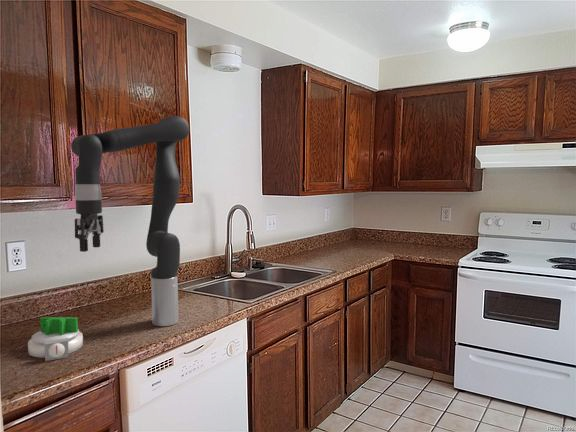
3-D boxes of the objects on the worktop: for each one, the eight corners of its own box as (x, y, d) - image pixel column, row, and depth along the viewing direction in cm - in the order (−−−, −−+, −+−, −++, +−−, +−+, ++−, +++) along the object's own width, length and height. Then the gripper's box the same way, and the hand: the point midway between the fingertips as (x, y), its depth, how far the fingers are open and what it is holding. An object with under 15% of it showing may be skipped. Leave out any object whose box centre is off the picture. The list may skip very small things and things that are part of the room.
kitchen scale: (29, 344, 137) (28, 328, 136) (81, 335, 144) (80, 321, 143) (27, 365, 121) (26, 348, 121) (85, 354, 128) (84, 338, 128)
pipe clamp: (35, 335, 132) (35, 321, 132) (43, 331, 136) (42, 317, 135) (72, 335, 132) (71, 320, 131) (78, 331, 136) (77, 316, 135)
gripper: (89, 199, 128) (91, 253, 130) (110, 197, 143) (111, 245, 144) (64, 199, 129) (67, 253, 130) (87, 197, 143) (89, 245, 144)
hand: (90, 249), depth 137 cm, fingers open, 8 cm apart
